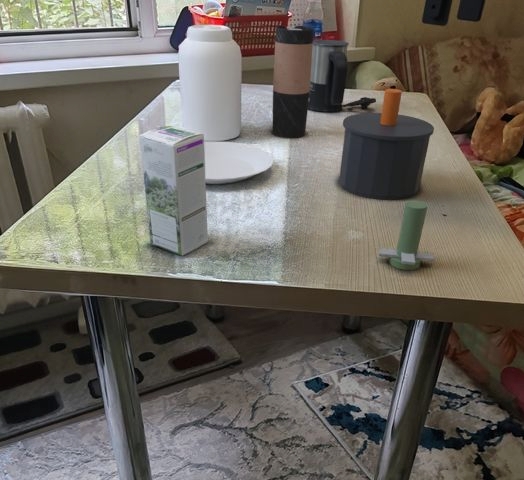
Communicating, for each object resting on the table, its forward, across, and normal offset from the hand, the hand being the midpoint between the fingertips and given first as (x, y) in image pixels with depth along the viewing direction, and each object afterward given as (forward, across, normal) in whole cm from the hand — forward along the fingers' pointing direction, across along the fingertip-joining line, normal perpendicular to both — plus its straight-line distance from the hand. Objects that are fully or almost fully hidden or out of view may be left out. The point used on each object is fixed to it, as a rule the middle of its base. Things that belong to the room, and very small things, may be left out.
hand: (451, 22), depth 70 cm
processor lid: (+16, +7, +10) cm, 20 cm away
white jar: (+27, +8, +52) cm, 59 cm away
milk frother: (+26, +48, +46) cm, 72 cm away
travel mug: (+26, +20, +41) cm, 53 cm away
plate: (+26, -8, +34) cm, 44 cm away
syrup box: (+26, -33, +17) cm, 45 cm away
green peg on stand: (+26, -16, -8) cm, 31 cm away
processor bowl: (+26, +7, +10) cm, 28 cm away
